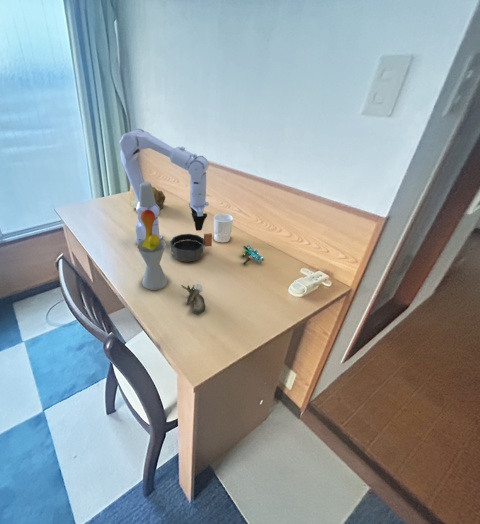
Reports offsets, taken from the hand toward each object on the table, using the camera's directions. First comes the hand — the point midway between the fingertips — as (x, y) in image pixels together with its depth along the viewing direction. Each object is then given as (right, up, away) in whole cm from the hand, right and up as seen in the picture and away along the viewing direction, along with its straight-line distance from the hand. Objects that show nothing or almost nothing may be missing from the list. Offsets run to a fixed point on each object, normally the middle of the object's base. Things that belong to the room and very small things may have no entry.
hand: (197, 225), depth 110 cm
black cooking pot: (-2, -11, +1) cm, 11 cm away
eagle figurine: (-3, -28, -22) cm, 36 cm away
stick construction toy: (+19, -14, -3) cm, 24 cm away
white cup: (+12, -4, +11) cm, 17 cm away
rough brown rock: (-22, +15, +42) cm, 49 cm away
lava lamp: (-16, -21, -12) cm, 29 cm away
